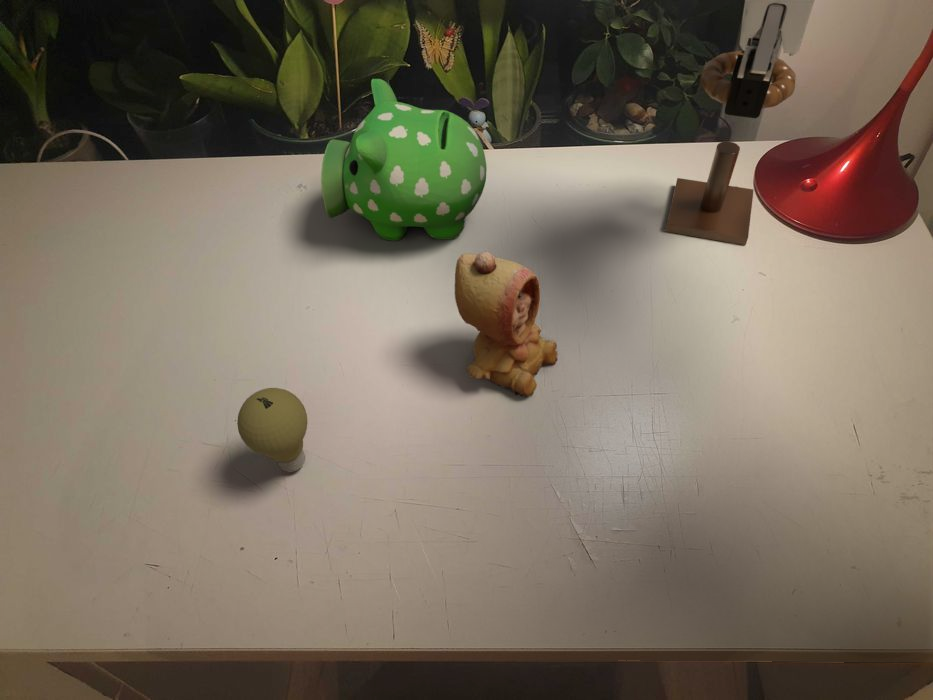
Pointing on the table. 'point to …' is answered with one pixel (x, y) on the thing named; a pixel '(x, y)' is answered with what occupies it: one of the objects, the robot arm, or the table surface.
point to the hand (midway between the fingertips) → (743, 104)
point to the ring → (721, 87)
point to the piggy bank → (405, 169)
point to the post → (713, 202)
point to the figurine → (502, 321)
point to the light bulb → (274, 426)
